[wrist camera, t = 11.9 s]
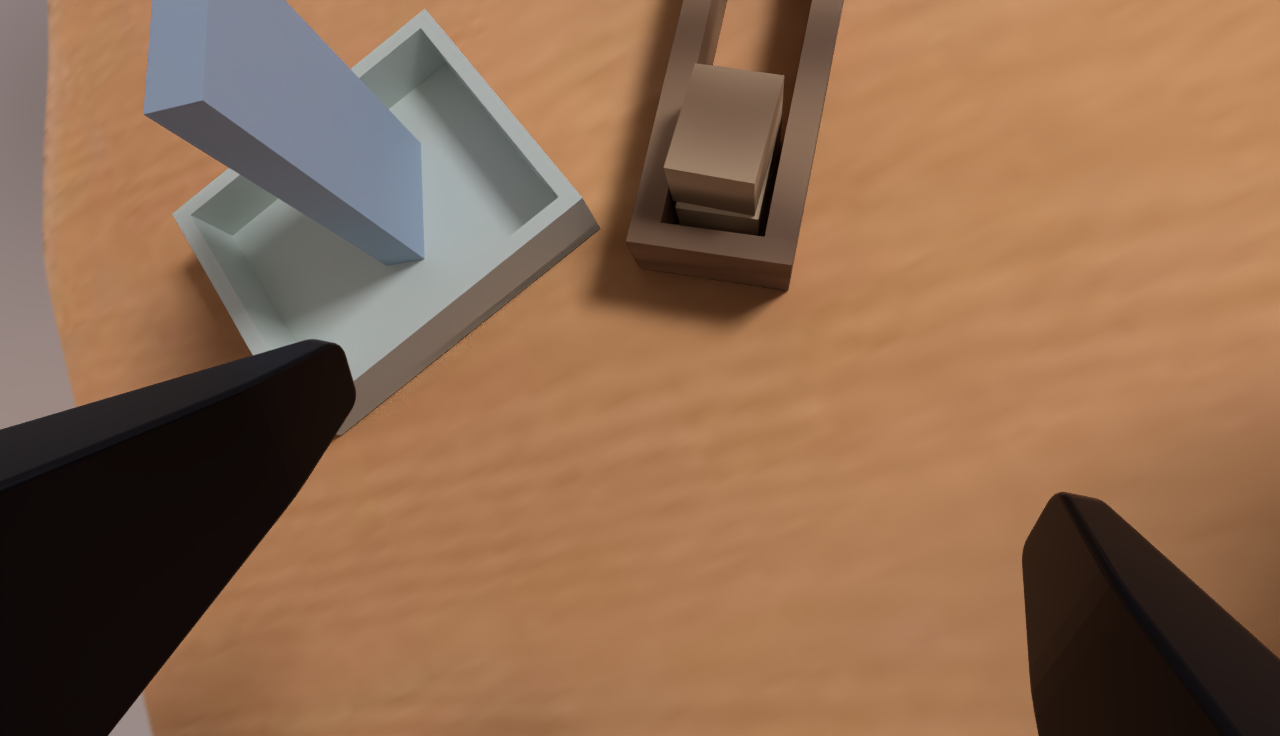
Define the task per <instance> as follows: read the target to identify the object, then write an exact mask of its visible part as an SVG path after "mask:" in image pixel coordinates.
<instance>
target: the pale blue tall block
mask: <svg viewBox="0 0 1280 736" xmlns="http://www.w3.org/2000/svg"><path fill="white" fill-rule="evenodd" d="M144 115H145V116H147V117H149V118H150V119H152V120H153V121H155V122H157V123H158V124H160V125H161V126H163V127H165V128H166V129H168V130H169V131H171V132H173V133H174V134H176V135H177V136H179V137H181V138H182V139H184V140H185V141H187V142H189V143H190V144H192V145H193V146H195V147H197V148H198V149H200V150H201V151H203V152H205V153H206V154H208V155H210V156H211V157H213V158H214V159H216V160H218V161H219V162H221V163H222V164H224V165H226V166H227V167H229V168H230V169H232V170H234V171H235V172H237V173H238V174H240V175H242V176H243V177H245V178H246V179H248V180H250V181H251V182H253V183H254V184H256V185H258V186H259V187H261V188H262V189H264V190H266V191H267V192H269V193H270V194H272V195H274V196H275V197H277V198H279V199H280V200H282V201H283V202H285V203H287V204H288V205H290V206H291V207H293V208H295V209H296V210H298V211H299V212H301V213H303V214H304V215H306V216H307V217H309V218H311V219H312V220H314V221H315V222H317V223H319V224H320V225H322V226H323V227H325V228H327V229H328V230H330V231H331V232H333V233H335V234H336V235H338V236H340V237H341V238H343V239H344V240H346V241H348V242H349V243H351V244H352V245H354V246H356V247H357V248H359V249H360V250H362V251H364V252H365V253H367V254H368V255H370V256H372V257H373V258H375V259H376V260H378V261H380V262H381V263H383V264H384V265H386V266H389V265H394V264H400V263H405V262H411V261H416V260H422V259H425V255H424V224H423V193H422V161H421V143H420V142H419V141H418V140H417V139H416V138H415V137H414V136H413V135H412V134H411V132H410V131H409V130H408V129H407V128H406V127H405V126H404V125H403V124H402V123H401V122H400V121H399V120H398V119H397V118H396V117H395V116H394V115H393V114H392V112H391V111H390V110H389V109H388V108H387V107H386V106H385V105H384V104H383V103H382V102H381V101H380V100H379V99H378V98H377V97H376V96H375V95H374V94H373V92H372V91H371V90H370V89H369V88H368V87H367V86H366V85H365V84H364V83H363V82H362V81H361V80H360V79H359V78H358V77H357V76H356V75H355V74H354V72H353V71H352V70H351V69H350V68H349V67H348V66H347V65H346V64H345V63H344V62H343V61H342V60H341V59H340V58H339V57H338V56H337V55H336V54H335V53H334V51H333V50H332V49H331V48H330V47H329V46H328V45H327V44H326V43H325V42H324V41H323V40H322V39H321V38H320V37H319V36H318V35H317V34H316V33H315V31H314V30H313V29H312V28H311V27H310V26H309V25H308V24H307V23H306V22H305V21H304V20H303V19H302V18H301V17H300V16H299V15H298V14H297V13H296V11H295V10H294V9H293V8H292V7H291V6H290V5H289V4H288V3H287V2H286V1H285V0H152V13H151V25H150V38H149V51H148V64H147V77H146V89H145V102H144Z"/></svg>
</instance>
